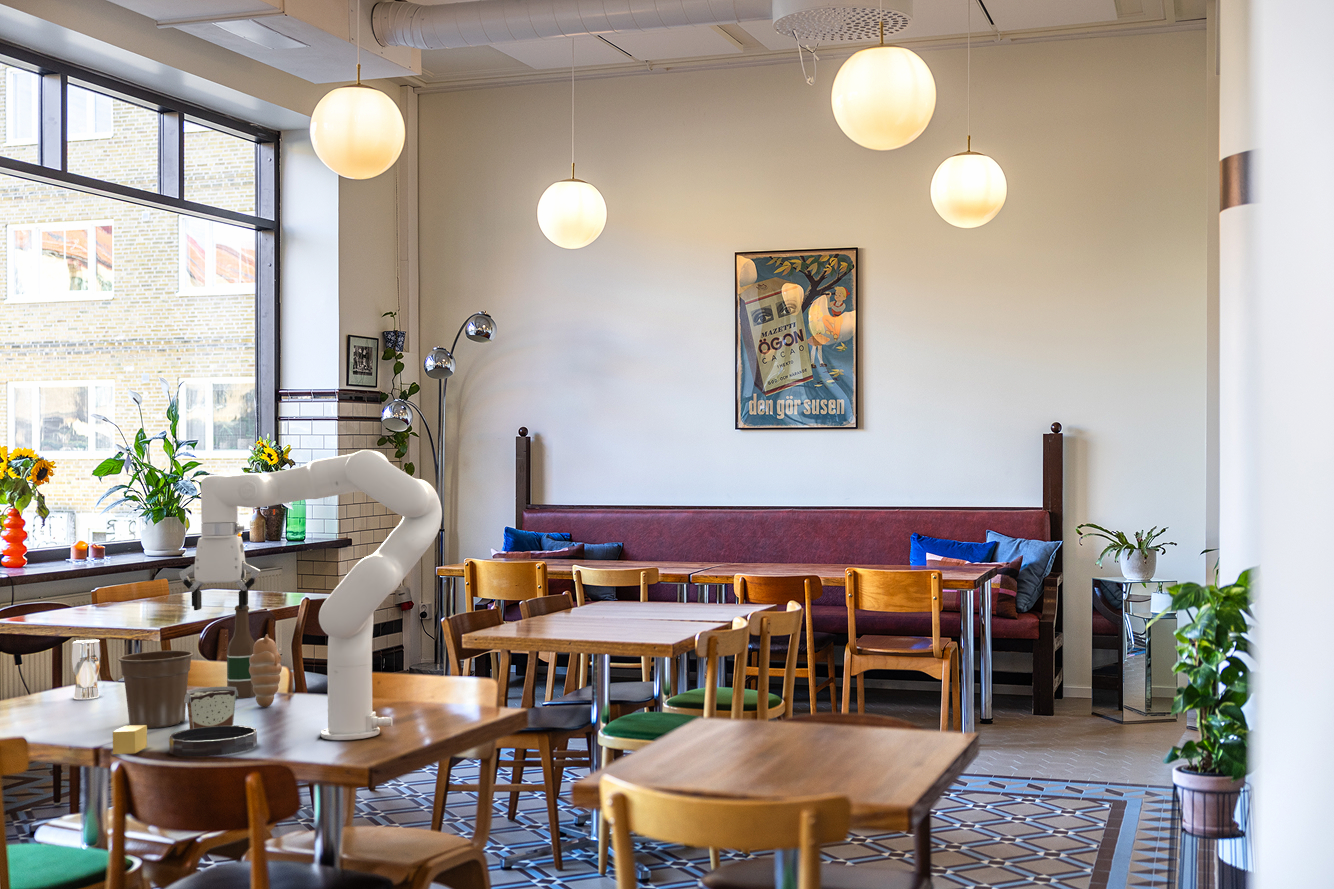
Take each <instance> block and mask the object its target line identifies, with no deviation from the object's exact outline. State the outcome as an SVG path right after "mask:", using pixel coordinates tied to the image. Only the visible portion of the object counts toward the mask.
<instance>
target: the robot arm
mask: <svg viewBox="0 0 1334 889" xmlns="http://www.w3.org/2000/svg"><path fill="white" fill-rule="evenodd" d="M200 492H201V493H200V511H201V512H200V515H201V516H200V518H201V519H200V522H201V523H200V524H201V527H200V530H201V531H200V533H201V534H200V535H201V536H200V537H198V539H197V544H196V548H195V555H194V556H195V557H194V564H191V565H190V566H188V567H186V568H184V569H182V570H180V571H179V572H178V575H179V577H180V579H181V581H182V583H183V585H184V586H185V587H186V588H187V589H188V590H189V592H190V593H191V607H193V611H199V610H202V602H203V600H202V591H201V588H202V587H203V585H204V584H223V583H224V584H225V583H226V584H227V583H228V584H229V583H235V584H236V585H237V586H238V588H239V591H238V605H239V609H245V608H246V605H247V606H249V590H251V587H253V586H254V585H255V584H256V582H257V580H258V578H259V576H260V574H261V570H260V569H259V568H257V567H255V566H253V565H251V564H249V563H247V562H246V554H245V548H244V541H243V537H242V536H238V535H239V533H241V532H244V531H245V526H244V525H242V524H239V522H238V519H239V518H238V507H241V508H251V509H252V508H253V509H254V508H265V507H272V506H276V505H282V504H288V503H289V504H290V503H293V502H300V501H304V500H305V501H306V500H318V499H324V498H329V497H334V496H339V495H341V496H342V495H346V494H352V493H358V492H362V493H363V494H365V495H367V496H368V497H370V498H371V499H373V500H374V501H376V502H377V503H380V504H381V505H383V506H384V507H385V508H387V509H388V510H390V511H392V512H393V513H395V514H396V515H399V516H401V517H402V518H401V520H400V522H399V523H398V524H397V526H396V527H395V528H394V529H393V530H392V531H391V532H390V533H389V535H388V537H387V538H386V539H385V540H384V541H383V542H382V544H380V545H379V547H378V548H377V549H376V550H375V551H374V552H373V553H372V554H370V555H367V556H365V557H364V558H361V559H360V560H359V561H358V562H357V563H356V564H355V565H354V566H353V567H352V568H351V570H350V571H348V573H347V574H346V575H345V576H344V578H343V579H342V580H341V581H340V582H339V584H338V585H337V586H336V587H335V588H334V589H333V591H332V592H331V593H330V594H329V595H328V597H327V598H326V599H325V600H324V602H323V603H322V605H321V607H320V608H319V612H318V624H319V626H320V628H321V630H322V632H324V633H325V634H326V635H327V636H328V638H327V728H324V729H322V730H321V731H320V737H321V738H322V739H324V740H330V741H353V740H355V741H356V740H362V739H363V740H364V739H368V738H369V739H370V738H373V737H376V736H378V735H380V733H381V729H380V728H381V727H383V728H384V727H393V720H394V719H393V717H389V716H382V717H379V716H376V715H377V712H376V711H373V633H374V619H375V618H374V612H376V611H377V609H378V608H379V607H380V605H381V604H382V603H383V602H384V601H385V600H386V599H387V598H388V596H389V595H392V594H393V593H394V592H395V591H397V589H398V588H399V587H400V585H401V584H402V582H403V581H404V579H405V578H406V577H407V575H409V573H410V572H411V570H412V569H413V568H414V567H415V565H417V563H418V562H419V560H420V559H421V558H422V557H423V555H424V554H425V553H426V551H427V550H428V549H429V548H430V547H431V545H432V544H433V542H434V540H435V539H436V538H437V535H438V533H439V532H440V528H441V524H442V520H443V519H442V518H443V510H442V504H441V501H440V498H439V495H438V493H437V490H436V489H435V488H434V487H433V485H432V484H430V483H429V482H428V481H427V480H424V479H421V478H415V477H413V476H411V475H410V474H408V473H407V472H405V471H404V470H402V469H400V468H399V467H397V466H395V465H394V464H392V463H391V462H390V461H389V459H388V458H387V457H386V455H384V454H383V453H381V452H380V451H377V450H372V449H361V450H358V451H356V452H354V453H350V454H345V455H339V456H338V455H337V456H331V457H327V458H326V457H325V458H320V459H314V460H311V461H309V462H307V463H306V464H303V465H301V466H297V467H292V468H288V469H284V470H278V471H271V472H264V473H258V472H257V473H255V472H254V473H253V472H249V473H243V474H237V475H236V474H235V475H232V474H209V475H208V474H207V475H205V476H203V478H201V483H200ZM247 572H248V573H250V574H251V575H250V578H249V579H248V580H247V581H246V580H245V579H246V576H247ZM191 573H194V580H195V581H194V582H193V581H192V580H191V578H190V577H189V575H190V574H191Z"/></svg>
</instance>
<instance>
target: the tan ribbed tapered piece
mask: <svg viewBox="0 0 1334 889" xmlns="http://www.w3.org/2000/svg"><path fill="white" fill-rule="evenodd" d="M281 662H282V656H281V654H280V652H279V651H278V647H277V643H276V642H275V641H274V640H273V639H272V638H270V637H269V634H268V633H267V634H265V636H264V637H262V638H259V639H257V640H256V641H255V644H254V647H253V654H252V655H251V656H250V659H249V663H250V667H249V673H250V675H251V683H252V685H253V692H254V693H255V694H256V696H255V701H256V703H257V705H258V706H259V707H261V708H268V707H270V706H271V705H272V704H273V702H274V701H275V695H276V694H277V692H278V691H279V684H280V681H281V675H280V674H281V672H282V668H283V666H282V664H281Z"/></svg>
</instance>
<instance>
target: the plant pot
mask: <svg viewBox="0 0 1334 889" xmlns="http://www.w3.org/2000/svg"><path fill="white" fill-rule="evenodd" d="M193 656H194V651H188V650H157V651H153V650H152V651H143V652H135V653H130V654H125V655H122V656H119V657H118V658H117V659H118V662H120V668H121V675H122V677H123V680H124V688H125V696H126V705H127V715H128V724H129V725H147V729H155V728H160V729H161V728H167V727H171V726H176V725H179V724H180V723H184V722H185V721H186V708H187V703H184V699H185V695H186V693H187V691H188V683H189V672H190V670H191V663H192V657H193Z"/></svg>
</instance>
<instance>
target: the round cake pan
mask: <svg viewBox="0 0 1334 889" xmlns="http://www.w3.org/2000/svg"><path fill="white" fill-rule="evenodd" d="M168 736H169V737H168V752H169V754H171V755H174V756H179V757H213V756H223V755H231V754H237V753H241V752H245V751H249V750H253V749H254V748H256V746H258V730H257V728H255V727H252V726H248V725H234V724H233V725H231V726H210V727H201V728H193V729H190V728H188V729H184V730H180V731H176V732H173V733H171V734H169V735H168Z"/></svg>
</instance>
